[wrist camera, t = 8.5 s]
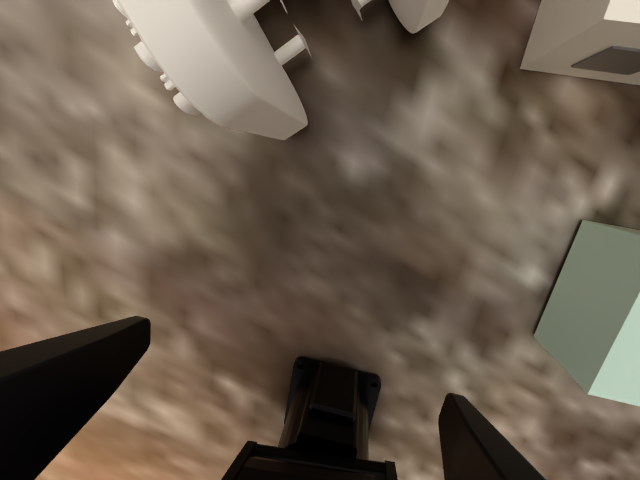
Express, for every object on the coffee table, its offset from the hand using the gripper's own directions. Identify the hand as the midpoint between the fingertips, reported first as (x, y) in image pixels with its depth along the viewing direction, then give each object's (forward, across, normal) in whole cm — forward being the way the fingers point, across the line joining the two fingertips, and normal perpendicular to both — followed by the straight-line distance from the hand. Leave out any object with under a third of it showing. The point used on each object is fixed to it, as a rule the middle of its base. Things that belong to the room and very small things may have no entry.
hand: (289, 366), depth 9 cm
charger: (+12, -16, -2) cm, 20 cm away
